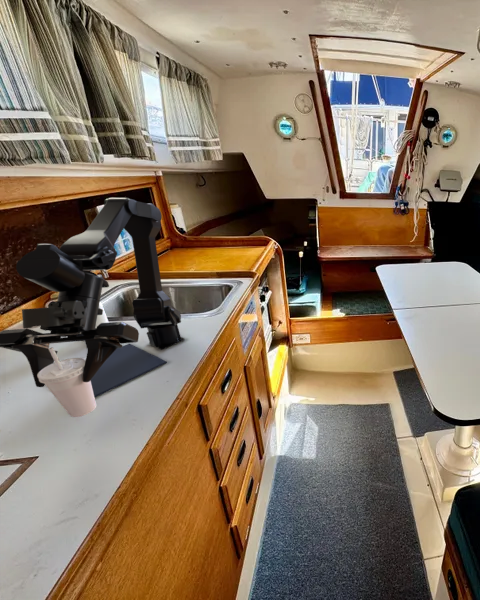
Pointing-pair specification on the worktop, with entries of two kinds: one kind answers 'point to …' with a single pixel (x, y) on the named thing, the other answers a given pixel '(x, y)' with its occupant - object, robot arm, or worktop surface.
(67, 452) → the worktop surface
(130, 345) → the mat
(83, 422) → the worktop surface
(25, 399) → the worktop surface
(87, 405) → the smoothie
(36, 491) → the worktop surface
